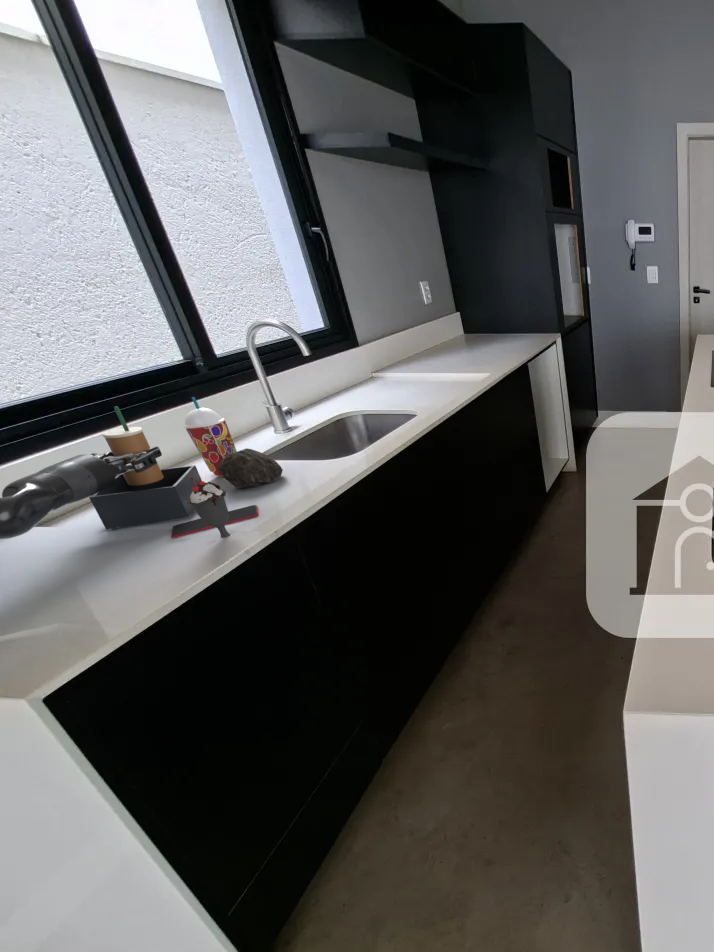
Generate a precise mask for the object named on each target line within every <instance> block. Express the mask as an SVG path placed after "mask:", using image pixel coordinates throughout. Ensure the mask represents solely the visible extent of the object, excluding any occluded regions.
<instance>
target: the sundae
mask: <svg viewBox="0 0 714 952" xmlns="http://www.w3.org/2000/svg"><path fill="white" fill-rule="evenodd" d="M190 479H193V477H191V478H190ZM193 480H194V479H193ZM193 480H192V484H193V488H192V494H191V496H190V498H189V499H188V500H187V501H185V503H187V504H190V505H191V506H192V507H193V508H194V512H196V514H197V515H198V517H199V519H200V518H201V519H202V520H203V521H204V522H205V524H207V525H209V526H212V527H215V528H216V529H217V530H218V531H219V534H220V538H221V539H225V538H228V537H231V534H230V533H229V532H228V530H227V528H226V525H225V524H226V523H227V522H228V520H229V513H228V511H229V509H228V506H227V502H226V499H225V497H226V496H227V494H228V493H227V490H226V489H221V485H220V484H219V483H215V482H213V481H208V482H205V481H203V480H202V481H197V480H195V481H197V482H198V483H197V485H196V486H194V483H193Z"/></svg>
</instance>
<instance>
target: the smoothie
mask: <svg viewBox="0 0 714 952" xmlns="http://www.w3.org/2000/svg"><path fill="white" fill-rule="evenodd" d="M191 400H192V402H193V404H194V406H195V408H193V409H192V410H190V411H189V412H188V413H187V414H186V415H185V418H184V425H183V427H184V429H185V430H186V432H187V434H188V435H189V437H190V439H191V441H192V443H193V444H194V446H195V447H196V449H197V451H198V453H199V455H200V456H201V458H202V460H203V462H204V463H205V464H206V467H207V468H208V470H209V472H211V473H213V475H214V476H217V477H223V476H222V474H221V472H220V471H219V470H218V467H219V465H220V463H221V461H222V460H223V458H224V457H225V456H226V455H228V454H230V453H235V452H238V451H237V448H236V446H235V442H234V440H233V437H232V434H231V432H230V430H229V427H228V424H227V421H226V417H223V416H222V415H221V414H220V413H219V412H217V411H216V410H214V409H211V408H207V407H200V405H199V403H198V401H197V399H196V397H195V396H192V397H191Z"/></svg>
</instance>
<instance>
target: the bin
mask: <svg viewBox="0 0 714 952" xmlns="http://www.w3.org/2000/svg"><path fill="white" fill-rule="evenodd" d="M160 470H161V472H162V474H163V476H164V477H163V479H161V480H159V481H156V482H153V483H150V484H145V485H135V486H133V485H128V483H127V481H126V479H125V477H124V475H123V474H122V475H119V476H116V477H115V480H114V483H113V484H112V485H111V486H110V487H109V488H107V489H104V490H102V491H100V492H98V493H96V494H93V495H91V496H89V497H88V498H89V500H90V502H91V504H92V506H93V508H94V509H95V512H96V513H97V516H98V518H99V519H100V521H101V523H102V524H103V526H104V528H105V530H115V529H122V528H129V527H135V526H142V525H143V526H144V525H150V524H156V523H157V524H158V523H164V522H169V521H175V520H179V519H184V518H189V517H190V516H191V515H192V514H193V513H194V512H195V510H194V508H193V507H192V506H191V505H190V504H187V503H185V501H187V500H188V499H189V498H190V496H191V494H192V488H193V484H192V480H193V479H194V480H193V483H194V486H196V485H197V483H198V482H197V481H203V480H202V477H201V475H200V473H199V470H198V468H197V465H196V464H193V465H184V466H176V467H168V468H160ZM191 477H193V479H190V478H191ZM195 480H197V481H195Z"/></svg>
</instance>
